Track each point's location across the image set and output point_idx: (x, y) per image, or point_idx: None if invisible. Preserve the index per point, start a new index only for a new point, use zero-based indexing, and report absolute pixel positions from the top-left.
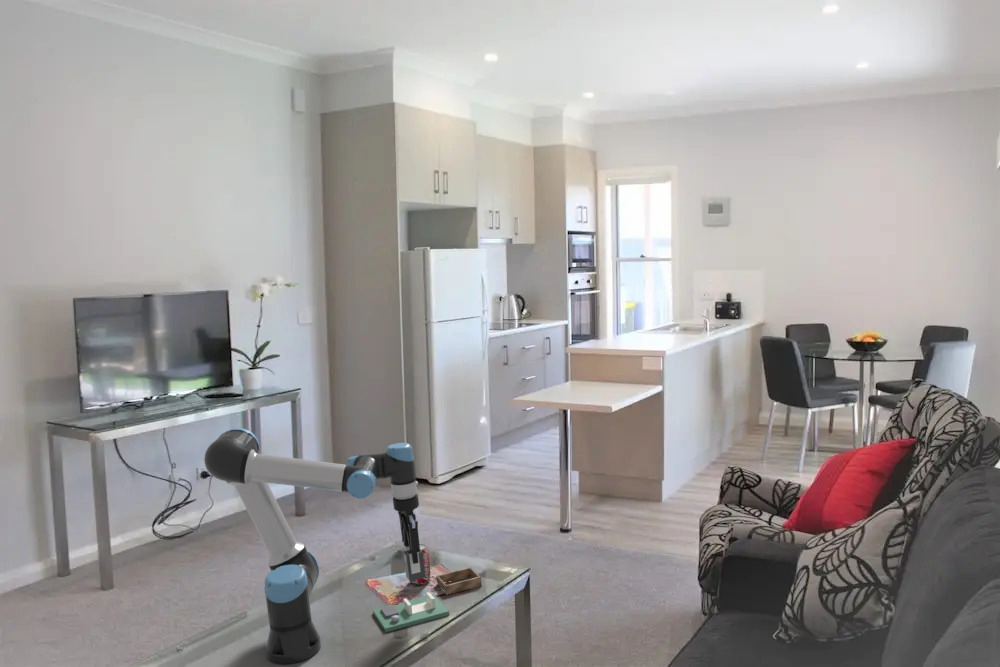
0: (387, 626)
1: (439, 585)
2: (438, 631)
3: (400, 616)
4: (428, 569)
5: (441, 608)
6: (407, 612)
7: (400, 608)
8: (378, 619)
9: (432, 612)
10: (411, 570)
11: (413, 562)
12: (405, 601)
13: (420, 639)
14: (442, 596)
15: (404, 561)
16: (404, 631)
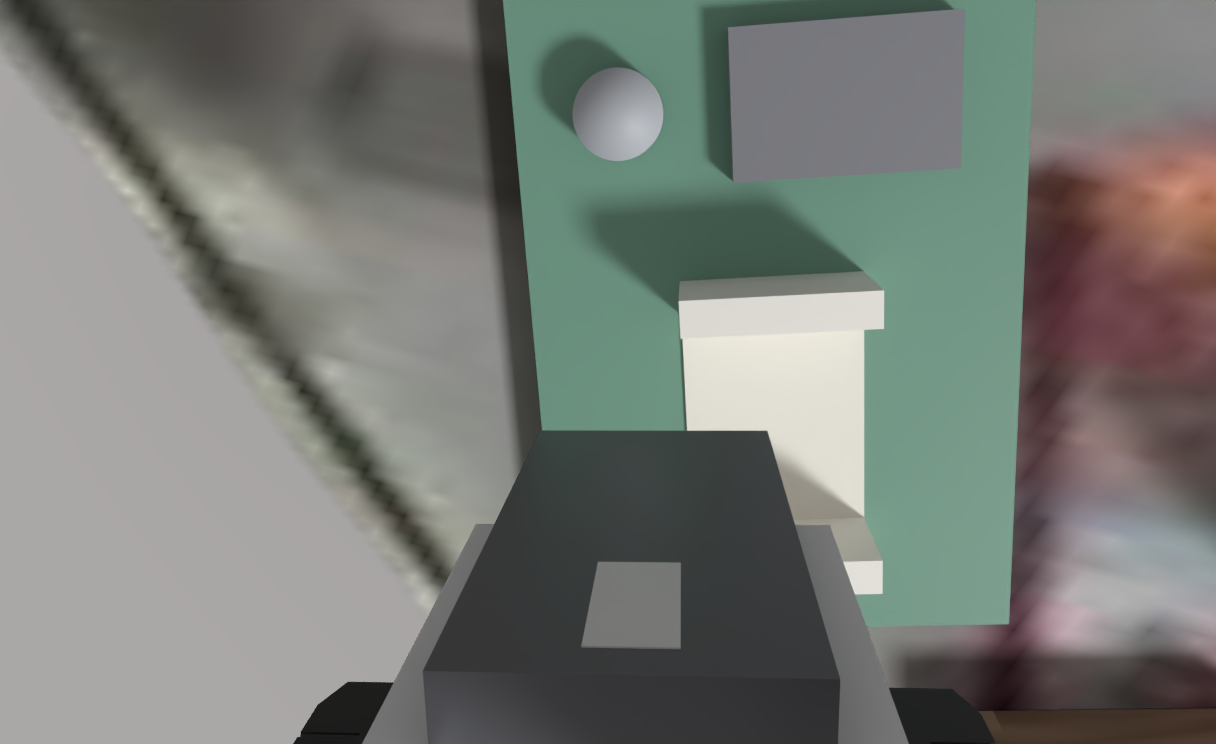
0: (533, 2)
1: (1190, 722)
2: (308, 444)
3: (692, 188)
4: None
5: None
6: (742, 278)
7: (879, 232)
8: None
9: None
10: (460, 554)
11: (337, 701)
12: (802, 298)
13: (227, 262)
14: (969, 672)
15: (776, 545)
16: (443, 162)
